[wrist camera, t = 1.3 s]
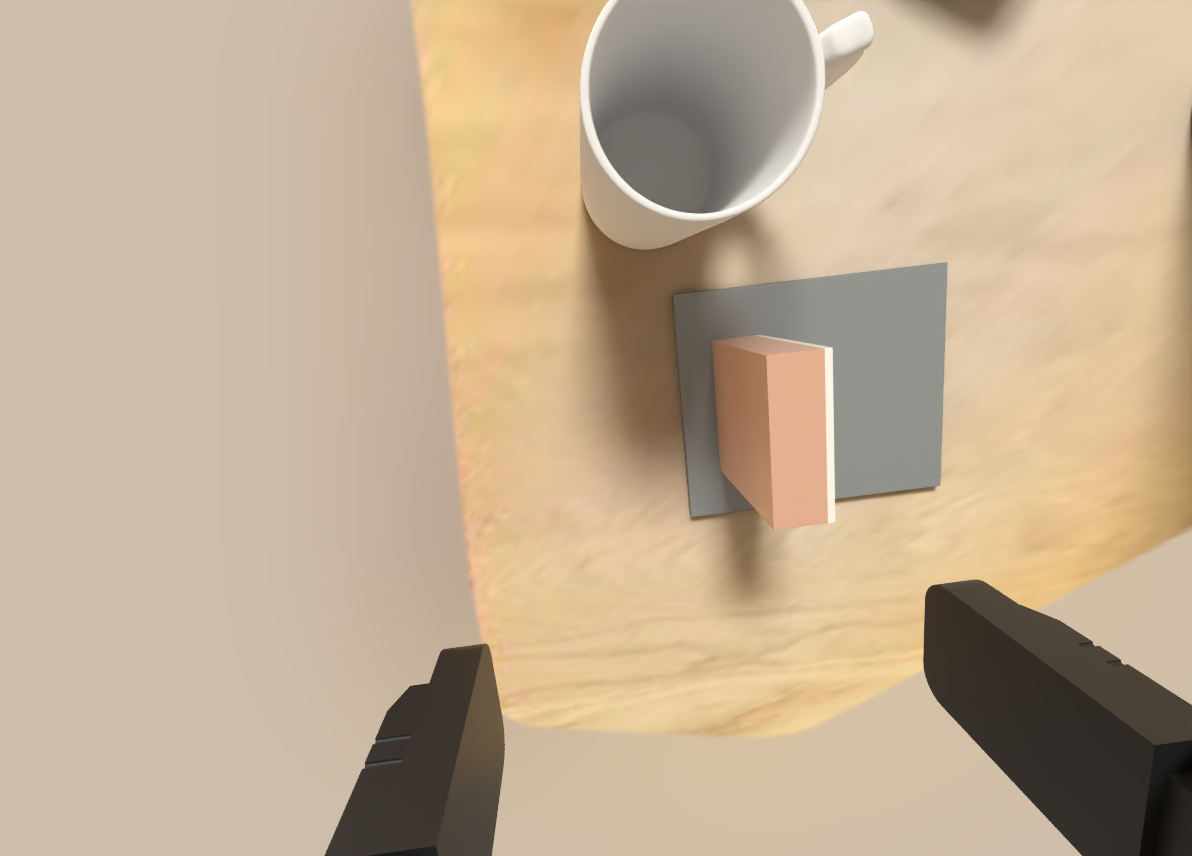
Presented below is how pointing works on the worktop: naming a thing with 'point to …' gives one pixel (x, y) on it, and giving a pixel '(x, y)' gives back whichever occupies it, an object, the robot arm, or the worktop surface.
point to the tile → (777, 426)
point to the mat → (860, 373)
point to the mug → (701, 109)
